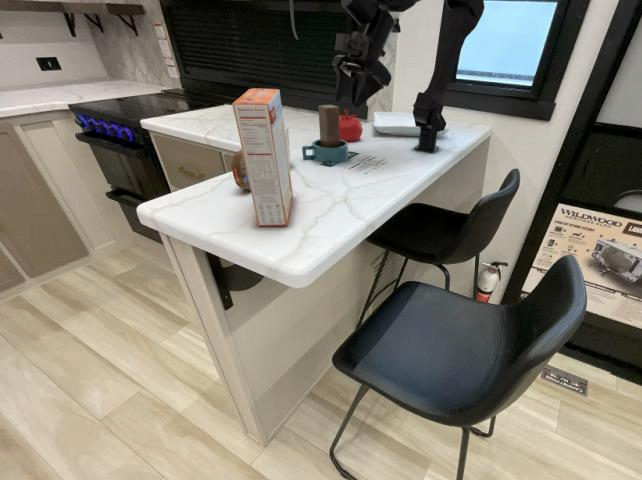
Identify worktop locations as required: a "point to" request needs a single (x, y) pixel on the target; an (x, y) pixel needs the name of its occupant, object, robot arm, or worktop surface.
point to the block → (329, 126)
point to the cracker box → (265, 154)
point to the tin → (240, 170)
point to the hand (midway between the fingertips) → (345, 104)
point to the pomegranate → (349, 128)
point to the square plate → (398, 123)
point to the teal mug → (327, 152)
